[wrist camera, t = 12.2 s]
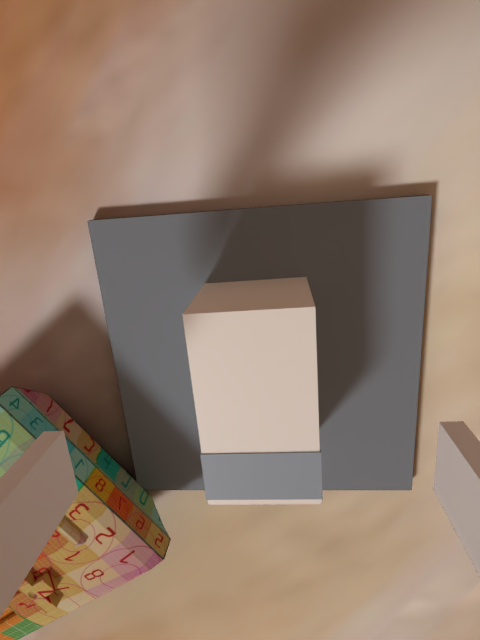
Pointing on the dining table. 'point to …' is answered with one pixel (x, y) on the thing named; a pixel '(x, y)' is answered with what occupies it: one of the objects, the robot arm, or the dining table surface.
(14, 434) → the puzzle game
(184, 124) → the dining table surface
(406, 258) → the mat
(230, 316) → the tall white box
